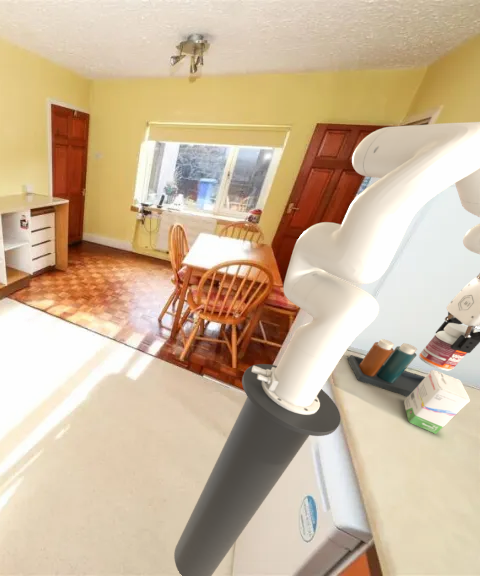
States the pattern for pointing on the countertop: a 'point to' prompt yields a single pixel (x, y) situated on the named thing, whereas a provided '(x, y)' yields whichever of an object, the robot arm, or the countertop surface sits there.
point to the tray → (400, 386)
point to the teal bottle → (397, 362)
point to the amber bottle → (376, 357)
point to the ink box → (435, 401)
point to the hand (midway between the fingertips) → (451, 342)
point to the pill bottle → (444, 348)
